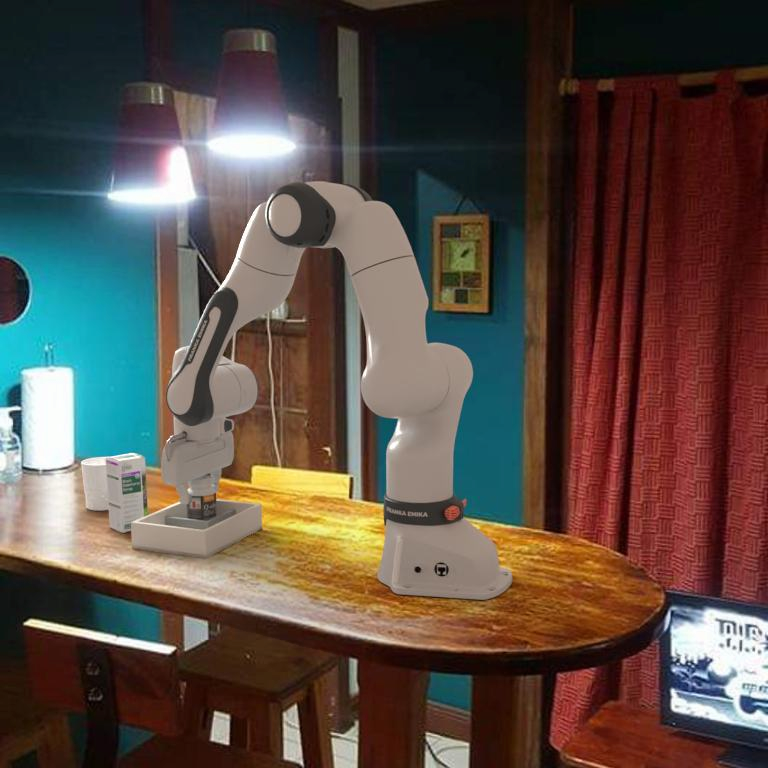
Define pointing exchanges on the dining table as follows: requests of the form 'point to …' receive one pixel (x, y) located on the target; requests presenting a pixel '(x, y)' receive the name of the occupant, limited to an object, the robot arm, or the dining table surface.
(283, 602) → the dining table surface
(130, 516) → the syrup box
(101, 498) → the white cup
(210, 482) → the pill bottle
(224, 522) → the box
